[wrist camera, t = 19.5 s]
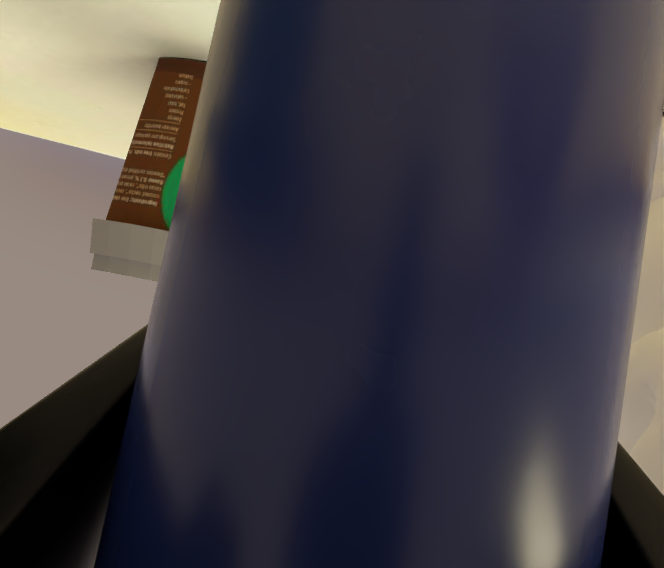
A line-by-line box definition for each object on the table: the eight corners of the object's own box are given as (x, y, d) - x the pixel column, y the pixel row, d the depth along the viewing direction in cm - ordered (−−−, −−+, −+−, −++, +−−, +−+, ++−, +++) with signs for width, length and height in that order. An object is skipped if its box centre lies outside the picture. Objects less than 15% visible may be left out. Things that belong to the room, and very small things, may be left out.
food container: (362, 155, 32) (330, 321, 31) (272, 152, 34) (240, 305, 33) (259, 31, 20) (204, 287, 19) (135, 38, 23) (80, 266, 22)
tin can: (149, -154, 7) (-98, 860, 6) (734, -395, 4) (460, 1639, 3) (354, 83, 13) (246, 634, 12) (668, 59, 10) (566, 814, 8)
